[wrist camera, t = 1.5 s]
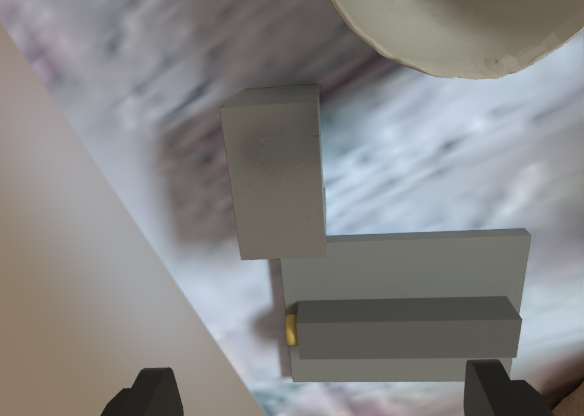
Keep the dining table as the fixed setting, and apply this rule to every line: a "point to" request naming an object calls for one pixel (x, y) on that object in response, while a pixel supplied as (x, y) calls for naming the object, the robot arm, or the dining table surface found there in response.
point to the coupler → (405, 305)
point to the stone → (571, 404)
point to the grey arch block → (276, 171)
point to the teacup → (464, 32)
